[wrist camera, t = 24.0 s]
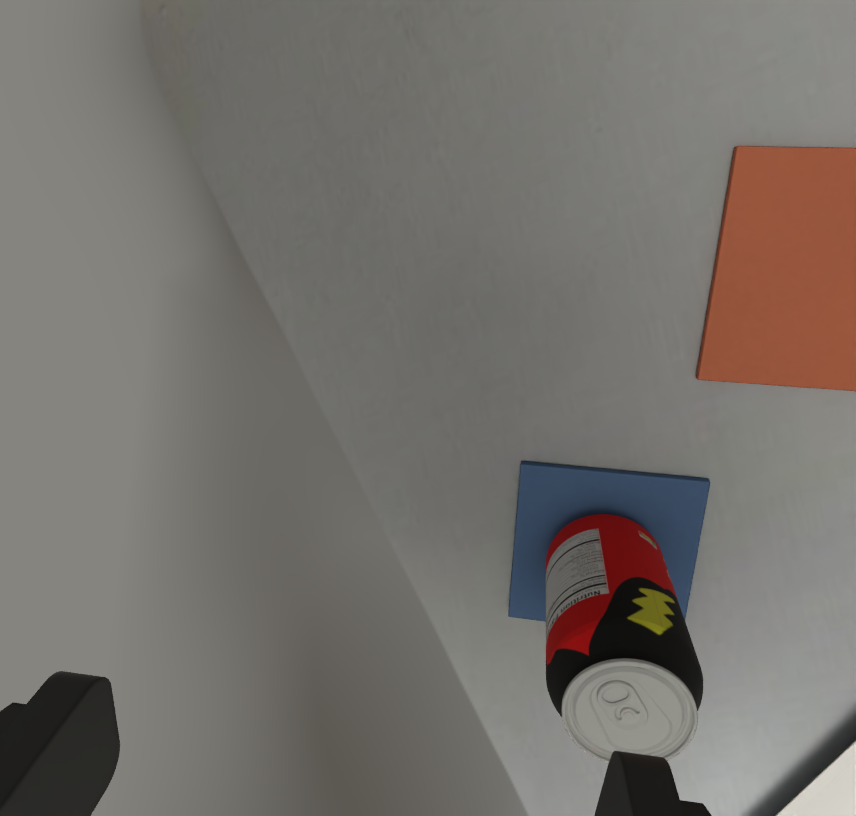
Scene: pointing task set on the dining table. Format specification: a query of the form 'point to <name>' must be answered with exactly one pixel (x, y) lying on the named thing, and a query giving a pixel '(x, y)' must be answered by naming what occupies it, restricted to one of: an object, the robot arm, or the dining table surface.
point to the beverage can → (618, 642)
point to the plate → (828, 790)
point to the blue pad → (602, 494)
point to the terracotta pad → (785, 271)
